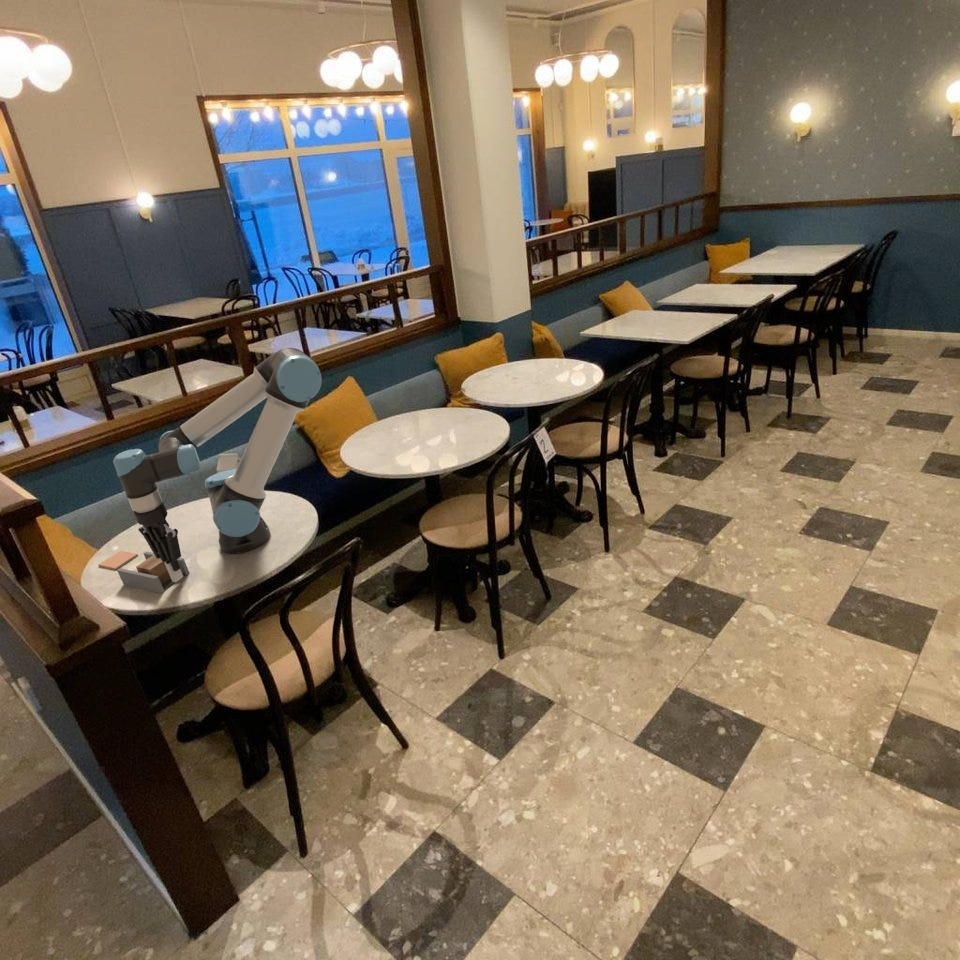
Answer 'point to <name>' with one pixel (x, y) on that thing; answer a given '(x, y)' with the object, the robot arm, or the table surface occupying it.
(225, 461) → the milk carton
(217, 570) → the table surface
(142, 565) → the block
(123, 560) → the tile
